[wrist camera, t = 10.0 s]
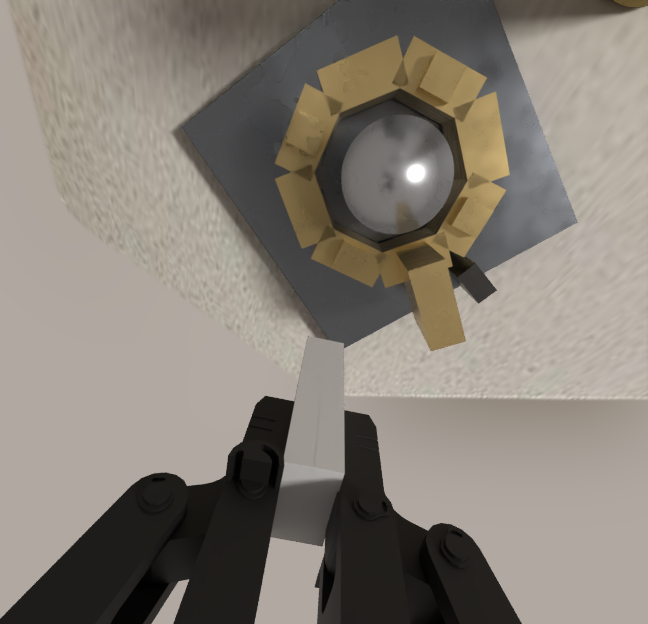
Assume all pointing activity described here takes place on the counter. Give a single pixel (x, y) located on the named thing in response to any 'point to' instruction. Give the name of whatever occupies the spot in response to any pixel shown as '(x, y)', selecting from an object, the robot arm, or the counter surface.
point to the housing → (381, 156)
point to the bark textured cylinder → (632, 3)
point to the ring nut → (465, 196)
